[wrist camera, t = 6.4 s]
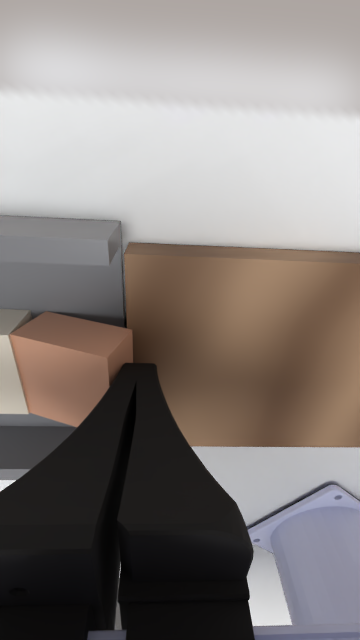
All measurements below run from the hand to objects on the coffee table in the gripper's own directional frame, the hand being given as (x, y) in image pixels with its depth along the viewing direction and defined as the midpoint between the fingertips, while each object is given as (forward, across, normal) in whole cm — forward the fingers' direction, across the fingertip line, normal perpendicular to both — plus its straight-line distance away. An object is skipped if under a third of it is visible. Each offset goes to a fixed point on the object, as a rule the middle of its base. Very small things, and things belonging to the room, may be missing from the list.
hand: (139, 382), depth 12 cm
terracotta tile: (+1, +2, 0) cm, 3 cm away
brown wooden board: (+2, -7, 0) cm, 8 cm away
